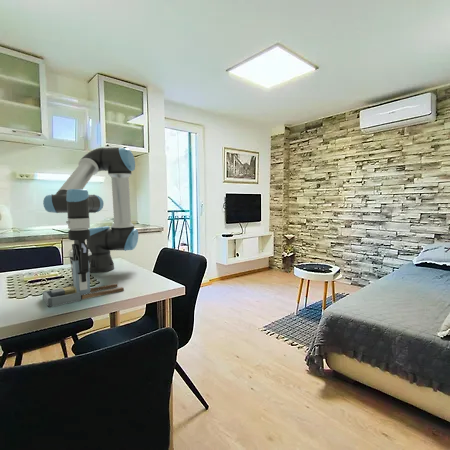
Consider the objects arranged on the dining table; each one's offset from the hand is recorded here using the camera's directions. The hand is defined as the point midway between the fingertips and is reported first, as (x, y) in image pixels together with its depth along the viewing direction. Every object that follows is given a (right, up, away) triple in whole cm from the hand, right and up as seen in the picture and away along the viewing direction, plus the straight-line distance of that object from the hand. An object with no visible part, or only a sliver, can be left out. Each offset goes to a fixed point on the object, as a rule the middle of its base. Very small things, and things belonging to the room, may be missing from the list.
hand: (81, 288), depth 116 cm
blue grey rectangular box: (0, -2, 0) cm, 2 cm away
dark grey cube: (-6, -4, -5) cm, 9 cm away
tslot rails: (+5, -3, +5) cm, 8 cm away
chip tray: (-5, -3, -4) cm, 8 cm away
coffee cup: (-9, -2, +19) cm, 21 cm away
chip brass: (-3, -3, -3) cm, 5 cm away
